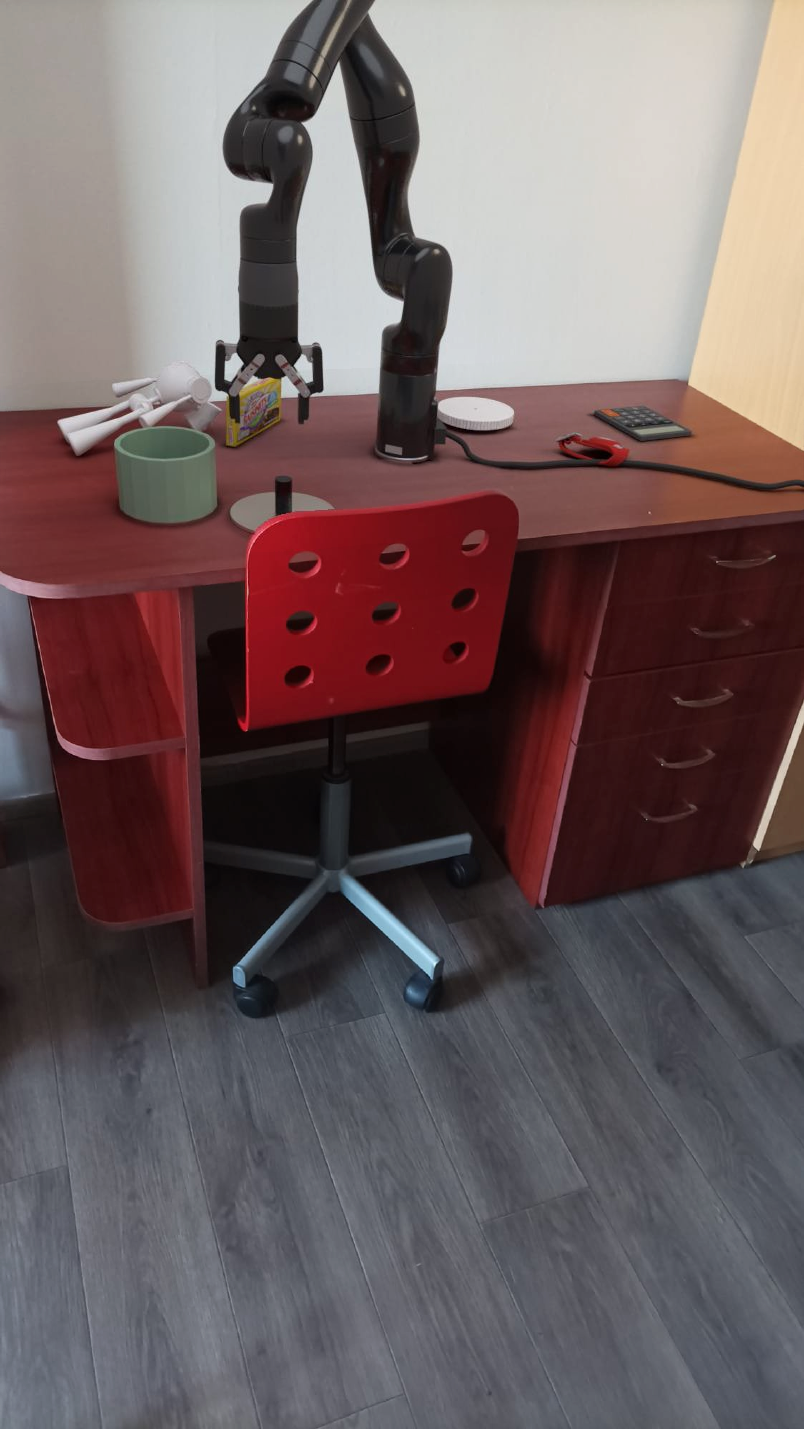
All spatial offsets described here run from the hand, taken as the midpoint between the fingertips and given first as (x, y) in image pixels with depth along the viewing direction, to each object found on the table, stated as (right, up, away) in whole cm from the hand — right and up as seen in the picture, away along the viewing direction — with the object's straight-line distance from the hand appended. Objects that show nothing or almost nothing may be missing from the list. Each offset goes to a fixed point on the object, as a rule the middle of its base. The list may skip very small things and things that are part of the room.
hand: (269, 422), depth 141 cm
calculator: (+63, +14, +53) cm, 84 cm away
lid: (+1, -11, +7) cm, 13 cm away
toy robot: (-24, +5, +30) cm, 39 cm away
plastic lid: (+31, +13, +48) cm, 59 cm away
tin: (-16, -10, +9) cm, 20 cm away
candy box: (-7, +8, +36) cm, 38 cm away
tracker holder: (+51, +5, +38) cm, 63 cm away
